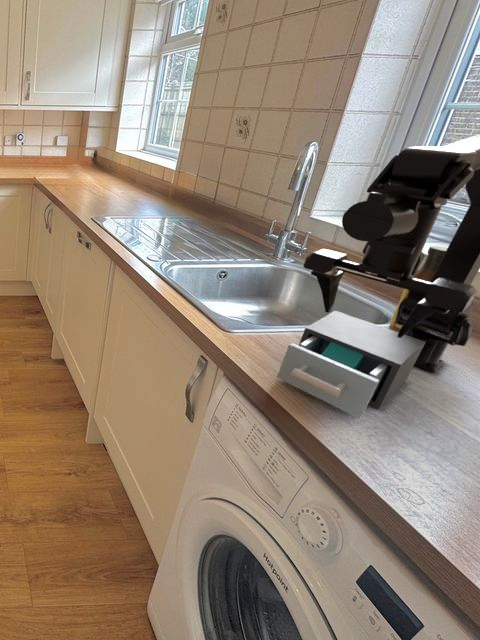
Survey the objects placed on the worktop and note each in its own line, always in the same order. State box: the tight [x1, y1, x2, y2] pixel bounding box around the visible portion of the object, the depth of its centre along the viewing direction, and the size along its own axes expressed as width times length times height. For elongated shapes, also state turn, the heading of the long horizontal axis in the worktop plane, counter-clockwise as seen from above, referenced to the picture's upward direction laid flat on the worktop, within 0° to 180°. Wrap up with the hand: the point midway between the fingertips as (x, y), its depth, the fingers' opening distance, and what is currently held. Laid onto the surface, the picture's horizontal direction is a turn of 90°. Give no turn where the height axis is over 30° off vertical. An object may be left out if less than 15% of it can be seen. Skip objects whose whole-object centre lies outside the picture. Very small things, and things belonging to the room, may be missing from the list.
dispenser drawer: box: [276, 335, 392, 419], centre depth 68 cm, size 17×11×7 cm
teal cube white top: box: [321, 342, 364, 371], centre depth 69 cm, size 4×4×4 cm
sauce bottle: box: [388, 245, 448, 332], centre depth 86 cm, size 7×6×20 cm
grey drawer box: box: [298, 310, 425, 410], centre depth 73 cm, size 14×13×9 cm
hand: (361, 323), depth 67 cm, fingers open, 9 cm apart
